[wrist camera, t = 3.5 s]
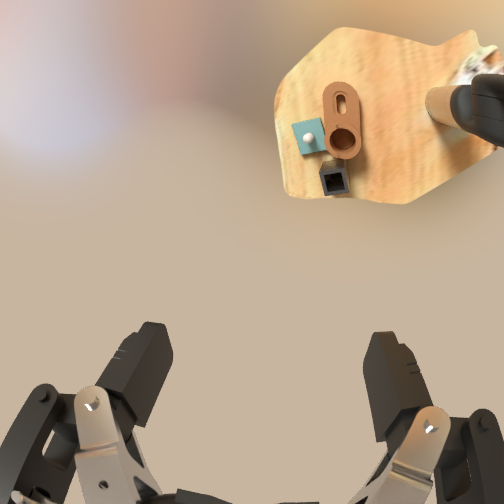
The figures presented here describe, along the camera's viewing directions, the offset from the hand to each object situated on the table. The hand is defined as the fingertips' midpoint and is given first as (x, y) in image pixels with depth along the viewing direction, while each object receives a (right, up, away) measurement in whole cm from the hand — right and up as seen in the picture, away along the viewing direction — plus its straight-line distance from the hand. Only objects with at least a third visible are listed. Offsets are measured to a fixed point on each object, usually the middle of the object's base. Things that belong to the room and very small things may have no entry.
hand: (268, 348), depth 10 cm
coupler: (+20, +24, +53) cm, 62 cm away
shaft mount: (+14, +32, +51) cm, 62 cm away
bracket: (+21, +35, +46) cm, 62 cm away
